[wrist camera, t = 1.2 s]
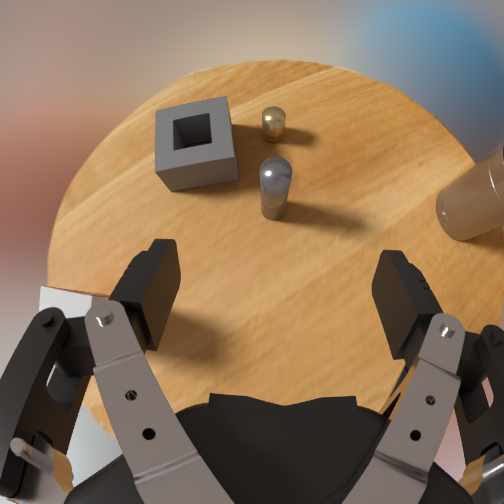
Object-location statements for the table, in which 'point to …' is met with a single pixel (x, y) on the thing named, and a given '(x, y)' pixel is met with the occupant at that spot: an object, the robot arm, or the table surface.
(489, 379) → the robot arm
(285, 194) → the grey metal rod
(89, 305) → the small box
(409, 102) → the table surface
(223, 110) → the collar block
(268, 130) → the brass pin
